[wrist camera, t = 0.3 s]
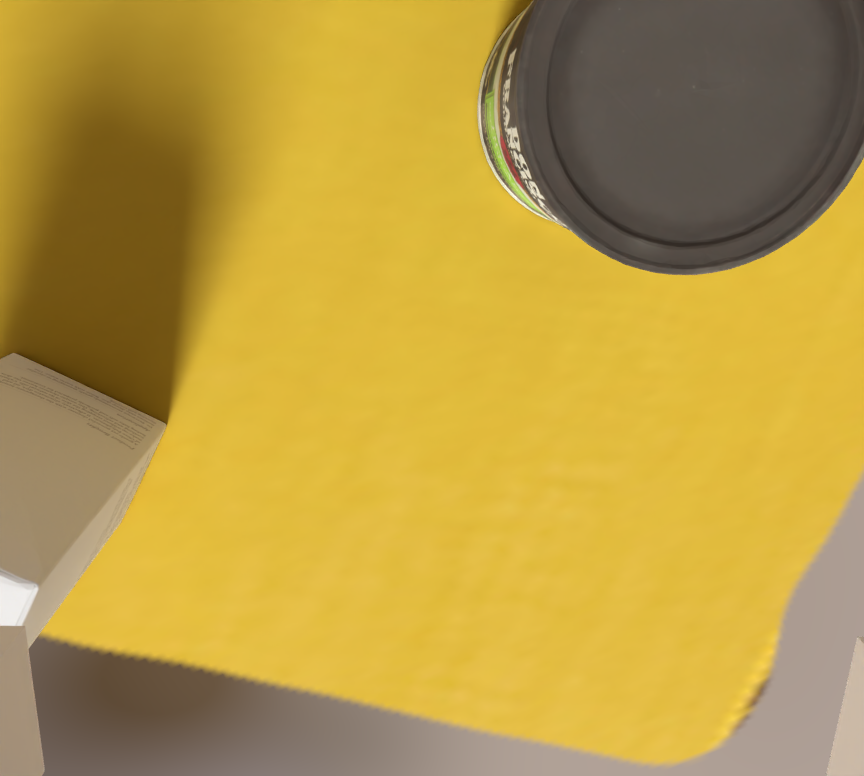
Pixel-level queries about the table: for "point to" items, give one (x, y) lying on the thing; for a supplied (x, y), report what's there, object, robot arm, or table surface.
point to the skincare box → (60, 483)
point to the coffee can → (677, 122)
